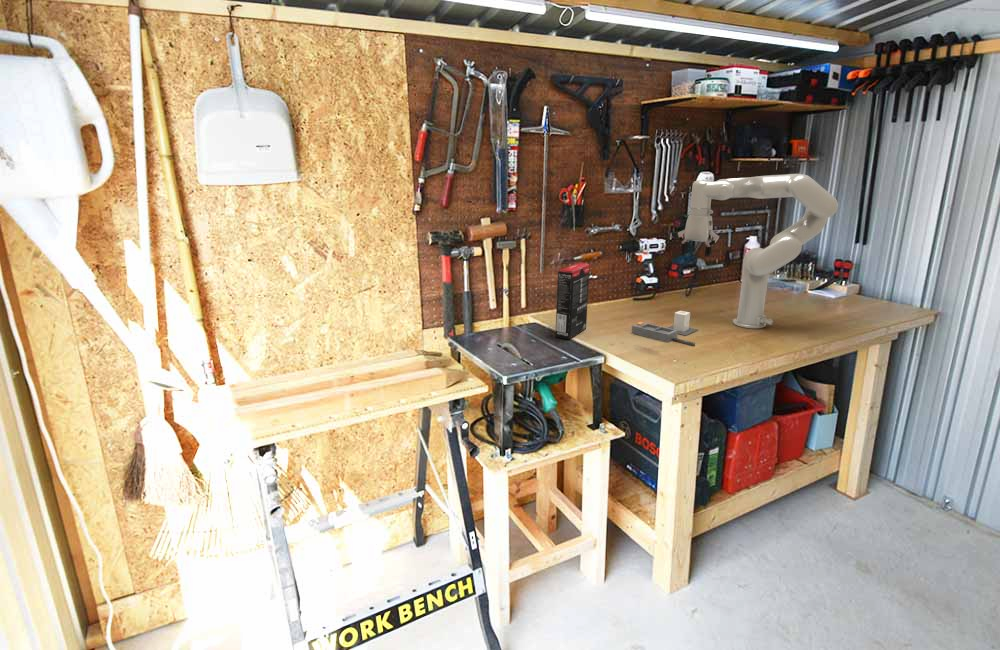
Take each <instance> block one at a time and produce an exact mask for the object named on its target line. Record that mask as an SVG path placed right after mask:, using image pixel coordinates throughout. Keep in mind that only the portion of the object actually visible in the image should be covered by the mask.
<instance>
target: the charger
mask: <svg viewBox="0 0 1000 650" xmlns="http://www.w3.org/2000/svg"><path fill="white" fill-rule="evenodd" d="M690 320H691V312H689V311H684V310H679V311H676V312H674V316H673V325H674V326H673V325H672V326H673V329H674V330H678V331H682V332H684V331H686V330H688V329H689V327H690Z"/></svg>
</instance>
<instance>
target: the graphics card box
mask: <svg viewBox="0 0 1000 650" xmlns="http://www.w3.org/2000/svg"><path fill="white" fill-rule="evenodd" d="M589 280H590V263H585V262H577V263H574V264H572V265H569V266H567V267H564V268H562V269H559V270H557V285H556V286H557V288H556V289H557V290H556V293H557V294H556V312H555V313H556V314H555V338H560V339H565V340H571V339H573V338H575V337H576V336H577V335H578V334H580V333H581V332H583V331H585V330H586V329H587V321H588V319H587V318H588V304H589V303H588V302H589V284H590V281H589Z"/></svg>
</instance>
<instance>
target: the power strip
mask: <svg viewBox="0 0 1000 650" xmlns="http://www.w3.org/2000/svg"><path fill="white" fill-rule="evenodd" d="M632 333H634V334H633V335H636V334H638V335H637V336H640V335H641V337H644V336H645V337H644V338H648V337H649V339H652V340H656V341H660V342H664V343H668V344H669V343H670V342H672V341H673V342H677V343H680V344H683V345H688V346H693V347H694V346H696V342H693V341H688V340H686V339H685V340H684V339H680V338H678V336H679V334H678V330H674V329H670V328H668V327H665V326H661V325H656V324H652V323H649V322H644V321H638V322H636V324H633V325H631V334H632Z"/></svg>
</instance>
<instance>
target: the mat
mask: <svg viewBox="0 0 1000 650" xmlns="http://www.w3.org/2000/svg"><path fill="white" fill-rule="evenodd" d="M673 326H674V324H673V325H670V326H669V327H667V328H670V329H673ZM697 330H698V331H699V329H698V328H693V327H690V326H689V329H688V330H686V331H684V332H682V331H678V336H679V335H680V336H683V337H687V336H689V335H691V334H693V332H694V333H696V332H698V331H697ZM695 331H696V332H695Z"/></svg>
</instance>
